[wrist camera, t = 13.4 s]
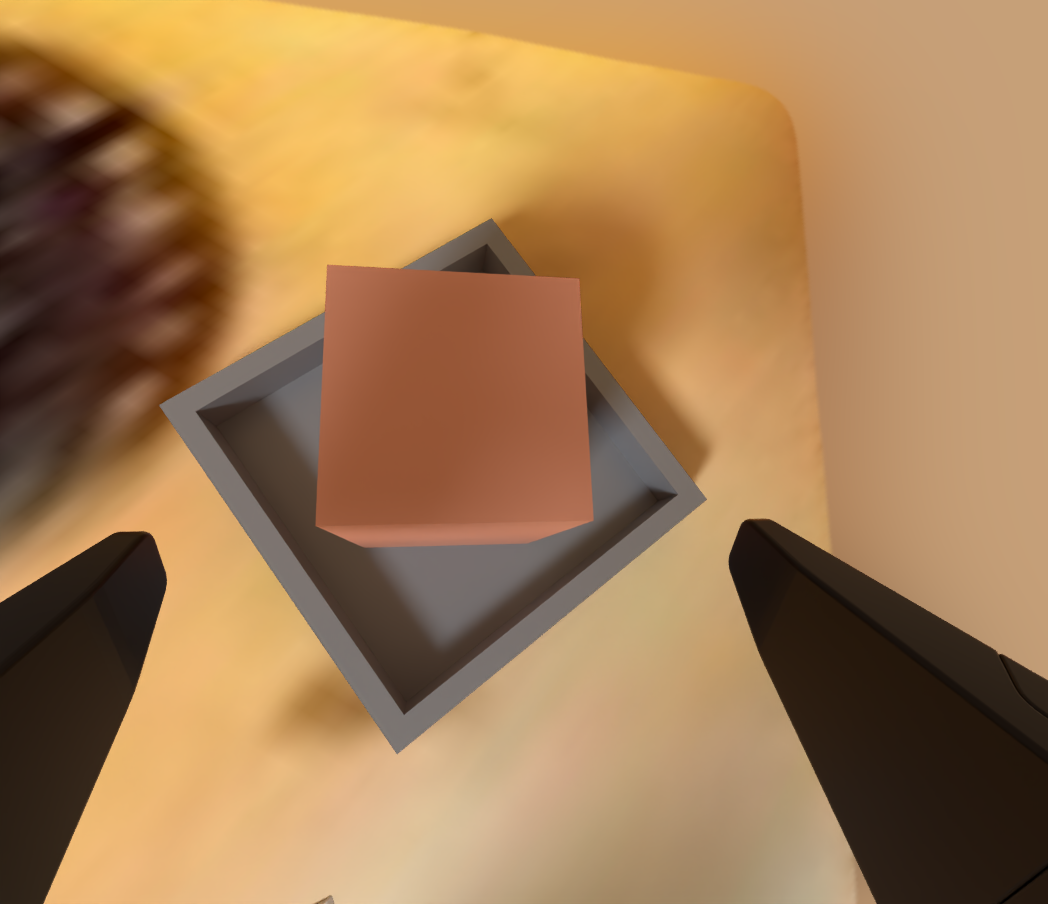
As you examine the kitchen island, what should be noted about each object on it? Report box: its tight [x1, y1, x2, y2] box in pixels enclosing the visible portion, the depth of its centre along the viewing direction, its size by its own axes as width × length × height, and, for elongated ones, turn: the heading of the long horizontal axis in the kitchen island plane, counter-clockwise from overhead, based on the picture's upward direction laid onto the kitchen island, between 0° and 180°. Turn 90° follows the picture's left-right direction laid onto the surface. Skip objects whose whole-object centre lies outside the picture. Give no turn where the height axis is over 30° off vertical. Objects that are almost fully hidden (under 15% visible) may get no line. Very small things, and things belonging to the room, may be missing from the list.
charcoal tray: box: [159, 218, 707, 754], centre depth 21 cm, size 14×14×2 cm
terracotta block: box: [315, 265, 594, 548], centre depth 17 cm, size 6×6×9 cm
